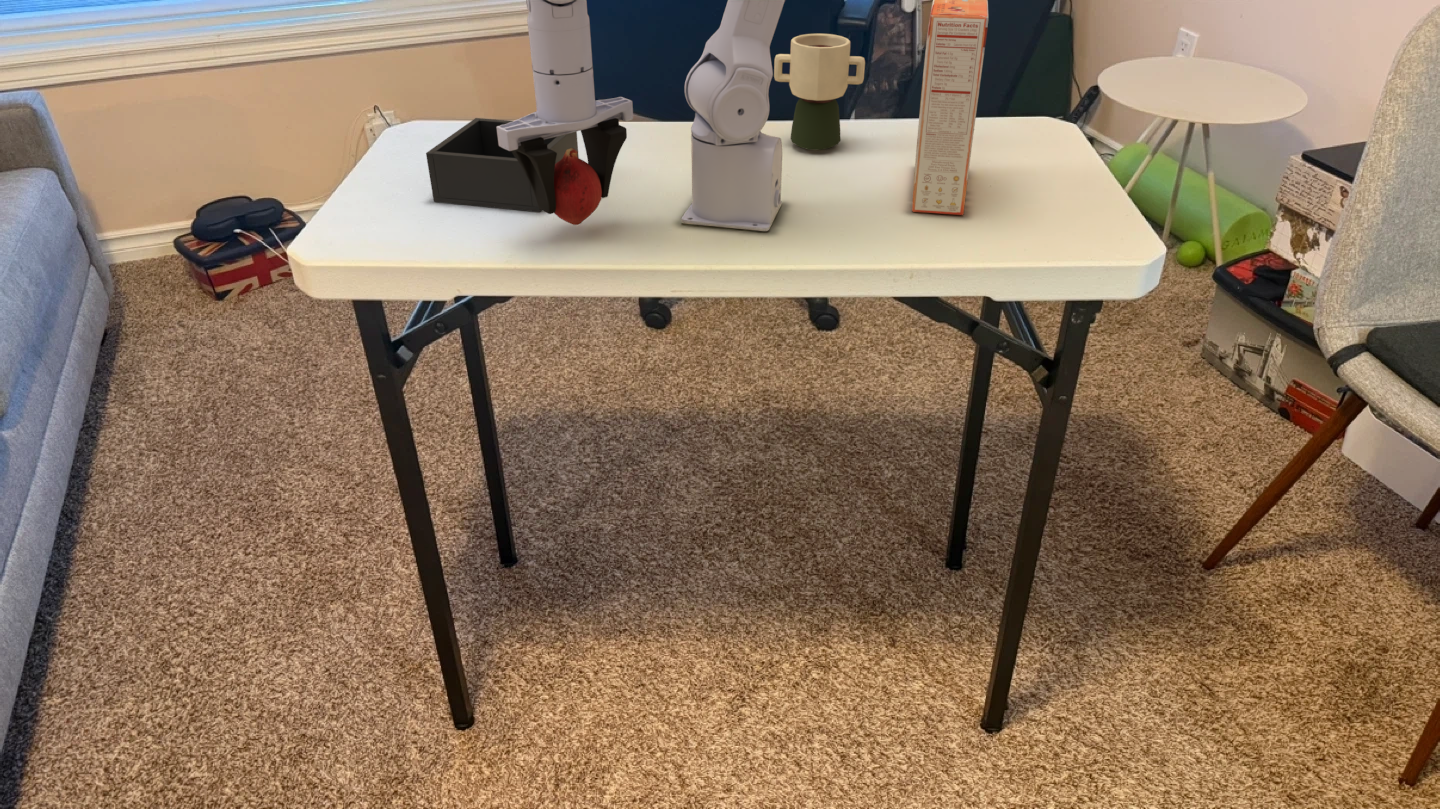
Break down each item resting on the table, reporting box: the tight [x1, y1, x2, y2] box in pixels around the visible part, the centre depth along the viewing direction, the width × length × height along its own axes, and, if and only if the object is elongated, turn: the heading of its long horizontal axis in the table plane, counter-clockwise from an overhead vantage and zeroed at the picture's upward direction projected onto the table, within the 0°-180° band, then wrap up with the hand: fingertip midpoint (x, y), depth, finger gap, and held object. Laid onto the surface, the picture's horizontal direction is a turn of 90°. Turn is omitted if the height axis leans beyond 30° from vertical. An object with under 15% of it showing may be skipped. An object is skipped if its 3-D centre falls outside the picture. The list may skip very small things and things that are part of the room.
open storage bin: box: [425, 117, 580, 213], centre depth 115 cm, size 13×13×6 cm
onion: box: [554, 148, 602, 226], centre depth 103 cm, size 6×6×8 cm
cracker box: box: [911, 0, 989, 216], centre depth 110 cm, size 14×6×21 cm, turn 168°
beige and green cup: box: [773, 33, 866, 151], centre depth 125 cm, size 11×7×13 cm, turn 83°
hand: (574, 202), depth 104 cm, fingers closed on onion, 6 cm apart
